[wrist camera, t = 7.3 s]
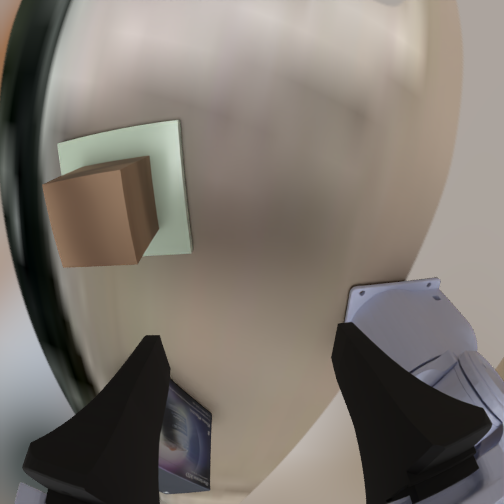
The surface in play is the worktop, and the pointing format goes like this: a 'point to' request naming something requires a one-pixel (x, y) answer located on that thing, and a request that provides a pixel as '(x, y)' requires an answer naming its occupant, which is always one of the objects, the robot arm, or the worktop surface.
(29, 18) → the worktop surface
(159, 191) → the plate
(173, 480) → the small box
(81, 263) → the walnut cube
